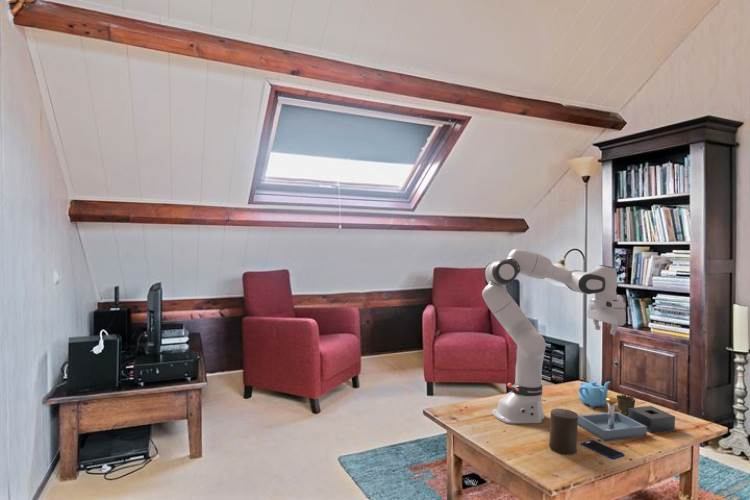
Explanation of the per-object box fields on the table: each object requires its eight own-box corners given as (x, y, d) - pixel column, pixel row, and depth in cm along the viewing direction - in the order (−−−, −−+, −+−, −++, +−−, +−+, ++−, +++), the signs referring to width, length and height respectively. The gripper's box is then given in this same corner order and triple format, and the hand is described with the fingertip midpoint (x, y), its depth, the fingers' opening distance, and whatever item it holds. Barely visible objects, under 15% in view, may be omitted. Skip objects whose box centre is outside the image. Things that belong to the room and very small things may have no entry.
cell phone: (592, 441, 184) (592, 439, 184) (625, 456, 172) (625, 454, 172) (579, 445, 180) (579, 443, 180) (613, 460, 168) (613, 458, 168)
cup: (637, 418, 206) (637, 400, 206) (619, 417, 208) (619, 399, 207) (631, 412, 214) (632, 395, 213) (614, 410, 215) (614, 393, 215)
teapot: (576, 406, 221) (577, 383, 220) (581, 396, 233) (581, 374, 232) (606, 412, 214) (606, 389, 213) (609, 401, 226) (610, 379, 225)
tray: (604, 441, 183) (604, 431, 183) (577, 424, 199) (577, 415, 199) (646, 436, 188) (646, 426, 188) (616, 420, 204) (617, 411, 203)
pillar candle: (563, 456, 170) (564, 416, 169) (543, 445, 179) (545, 406, 178) (582, 452, 174) (584, 412, 173) (562, 441, 183) (564, 403, 182)
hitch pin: (610, 430, 191) (610, 400, 191) (603, 426, 195) (603, 397, 195) (618, 429, 192) (619, 400, 192) (611, 425, 196) (612, 396, 195)
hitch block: (650, 433, 191) (651, 418, 191) (628, 421, 203) (628, 408, 202) (674, 430, 194) (675, 416, 194) (650, 419, 206) (651, 405, 205)
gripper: (584, 298, 220) (583, 327, 220) (616, 304, 200) (615, 336, 200) (595, 297, 221) (594, 327, 222) (628, 304, 201) (627, 336, 202)
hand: (604, 331), depth 211 cm, fingers open, 8 cm apart
